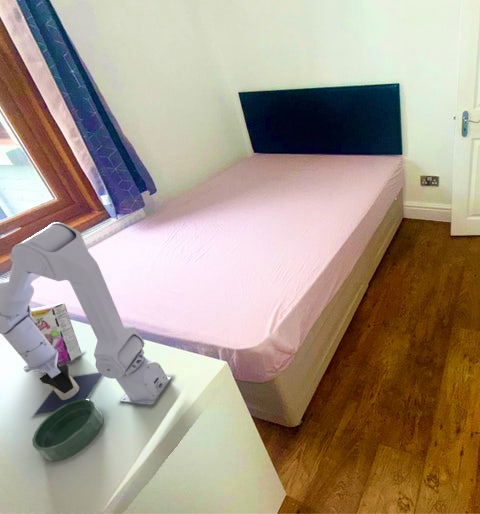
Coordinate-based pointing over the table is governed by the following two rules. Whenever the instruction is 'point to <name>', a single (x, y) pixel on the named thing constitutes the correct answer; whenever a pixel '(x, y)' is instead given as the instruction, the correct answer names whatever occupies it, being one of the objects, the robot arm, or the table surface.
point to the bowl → (68, 430)
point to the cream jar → (69, 393)
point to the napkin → (85, 388)
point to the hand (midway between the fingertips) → (63, 383)
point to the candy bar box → (57, 330)
